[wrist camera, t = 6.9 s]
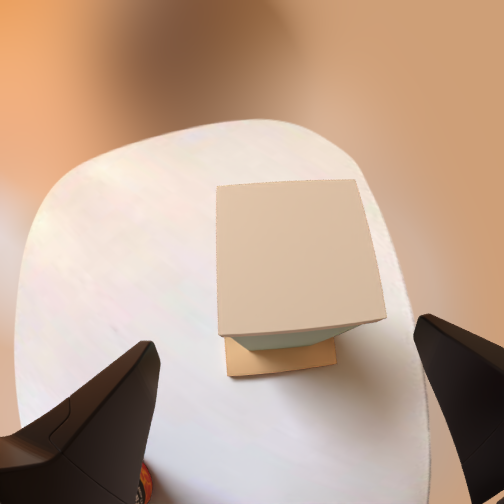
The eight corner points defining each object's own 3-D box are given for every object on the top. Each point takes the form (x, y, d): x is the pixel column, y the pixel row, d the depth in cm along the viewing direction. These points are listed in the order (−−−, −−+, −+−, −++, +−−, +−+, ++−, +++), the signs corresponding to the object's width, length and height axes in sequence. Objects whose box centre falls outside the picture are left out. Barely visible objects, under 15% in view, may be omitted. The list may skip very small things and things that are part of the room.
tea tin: (312, 346, 19) (386, 317, 7) (247, 352, 19) (218, 334, 7) (305, 285, 21) (355, 179, 9) (244, 290, 21) (216, 186, 9)
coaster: (334, 363, 19) (336, 363, 18) (228, 376, 19) (227, 376, 19) (320, 264, 22) (321, 262, 22) (221, 274, 22) (220, 272, 22)
